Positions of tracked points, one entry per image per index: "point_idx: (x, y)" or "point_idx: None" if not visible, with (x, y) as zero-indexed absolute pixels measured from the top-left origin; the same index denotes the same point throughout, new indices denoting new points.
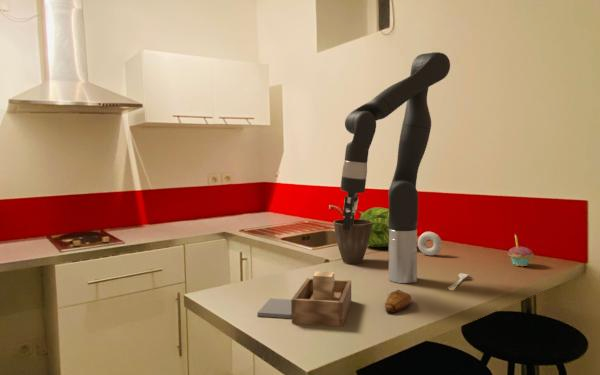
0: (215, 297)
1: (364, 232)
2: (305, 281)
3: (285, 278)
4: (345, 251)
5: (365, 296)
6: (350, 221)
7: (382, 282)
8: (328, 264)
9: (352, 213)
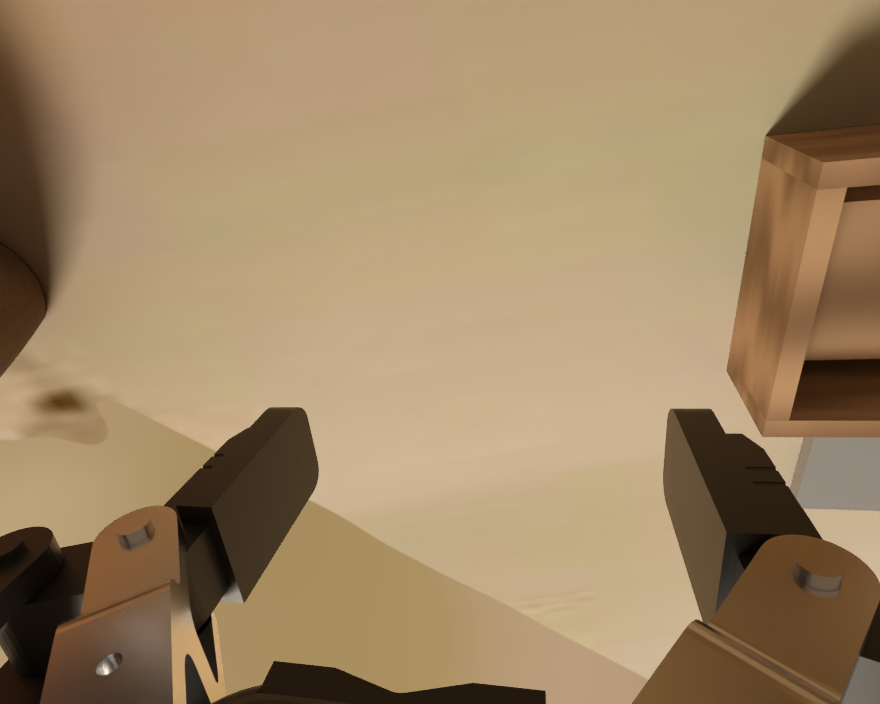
0: None
1: None
2: (839, 434)
3: (424, 502)
4: (6, 344)
5: (659, 61)
6: (759, 500)
7: (309, 5)
8: (119, 384)
9: (759, 623)
